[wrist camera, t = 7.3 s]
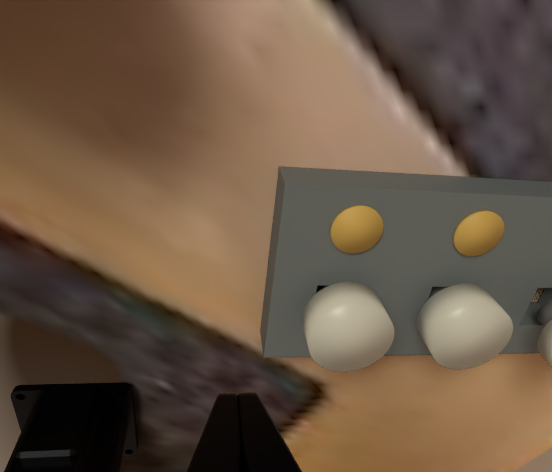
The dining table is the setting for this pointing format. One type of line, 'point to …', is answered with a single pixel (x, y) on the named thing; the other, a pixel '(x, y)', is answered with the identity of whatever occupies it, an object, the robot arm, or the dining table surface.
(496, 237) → the board
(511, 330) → the button middle
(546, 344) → the white lever knob
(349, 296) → the button inner
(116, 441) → the robot arm
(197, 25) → the dining table surface
